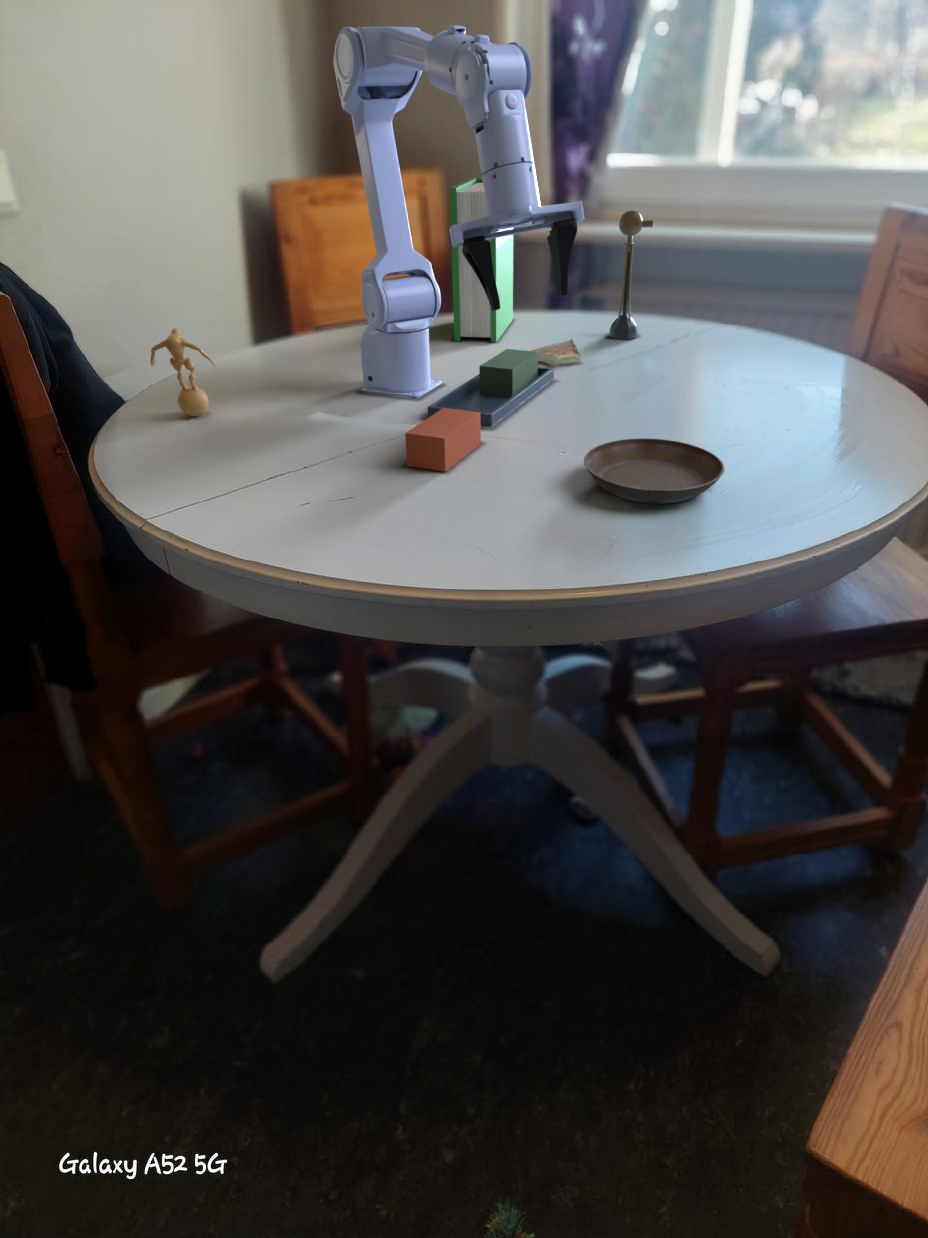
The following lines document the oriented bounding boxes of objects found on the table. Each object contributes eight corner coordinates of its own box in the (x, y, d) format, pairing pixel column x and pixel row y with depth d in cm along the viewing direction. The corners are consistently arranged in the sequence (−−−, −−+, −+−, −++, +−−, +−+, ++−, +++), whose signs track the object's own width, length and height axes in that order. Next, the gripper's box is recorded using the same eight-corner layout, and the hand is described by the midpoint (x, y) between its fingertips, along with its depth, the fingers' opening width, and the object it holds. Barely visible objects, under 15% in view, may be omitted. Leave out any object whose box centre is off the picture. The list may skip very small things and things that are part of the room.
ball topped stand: (642, 332, 154) (652, 208, 143) (644, 339, 150) (654, 211, 139) (608, 332, 154) (616, 208, 144) (609, 339, 150) (617, 212, 140)
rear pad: (479, 394, 123) (479, 365, 121) (506, 375, 131) (506, 348, 129) (512, 397, 121) (512, 369, 119) (537, 378, 129) (538, 351, 127)
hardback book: (496, 342, 150) (495, 187, 138) (454, 341, 151) (450, 187, 139) (512, 319, 165) (513, 177, 152) (474, 318, 166) (472, 177, 154)
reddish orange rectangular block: (406, 466, 101) (404, 432, 99) (444, 438, 109) (443, 407, 107) (445, 472, 99) (444, 438, 97) (481, 443, 107) (480, 412, 105)
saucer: (748, 501, 90) (752, 477, 89) (618, 521, 87) (620, 496, 86) (679, 454, 103) (681, 431, 101) (562, 469, 99) (563, 446, 98)
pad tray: (427, 421, 115) (427, 406, 114) (496, 375, 133) (496, 362, 132) (491, 429, 111) (491, 414, 110) (553, 381, 129) (554, 368, 128)
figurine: (229, 410, 120) (215, 321, 114) (217, 424, 115) (201, 332, 109) (170, 410, 121) (153, 321, 115) (155, 425, 116) (136, 332, 110)
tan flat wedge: (571, 348, 146) (572, 337, 145) (606, 356, 141) (607, 344, 140) (526, 360, 140) (526, 349, 139) (561, 369, 135) (562, 357, 134)
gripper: (445, 173, 89) (470, 311, 92) (582, 148, 90) (602, 286, 93) (439, 189, 96) (462, 317, 99) (566, 165, 97) (585, 293, 100)
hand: (529, 302), depth 97 cm, fingers open, 7 cm apart
